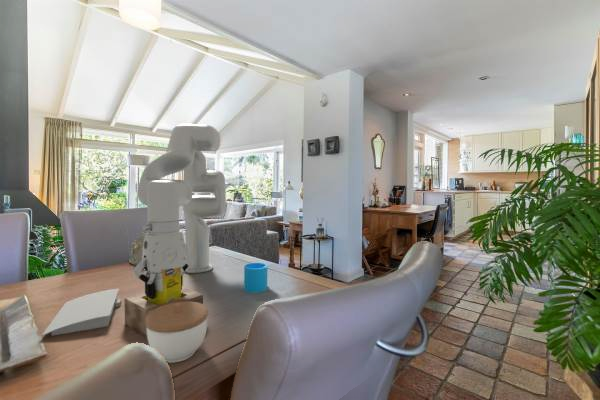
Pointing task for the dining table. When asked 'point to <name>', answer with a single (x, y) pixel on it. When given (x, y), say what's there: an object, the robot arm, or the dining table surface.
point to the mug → (255, 277)
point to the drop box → (151, 308)
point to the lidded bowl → (177, 329)
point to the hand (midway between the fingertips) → (164, 292)
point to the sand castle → (137, 250)
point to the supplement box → (167, 286)
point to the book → (85, 313)
